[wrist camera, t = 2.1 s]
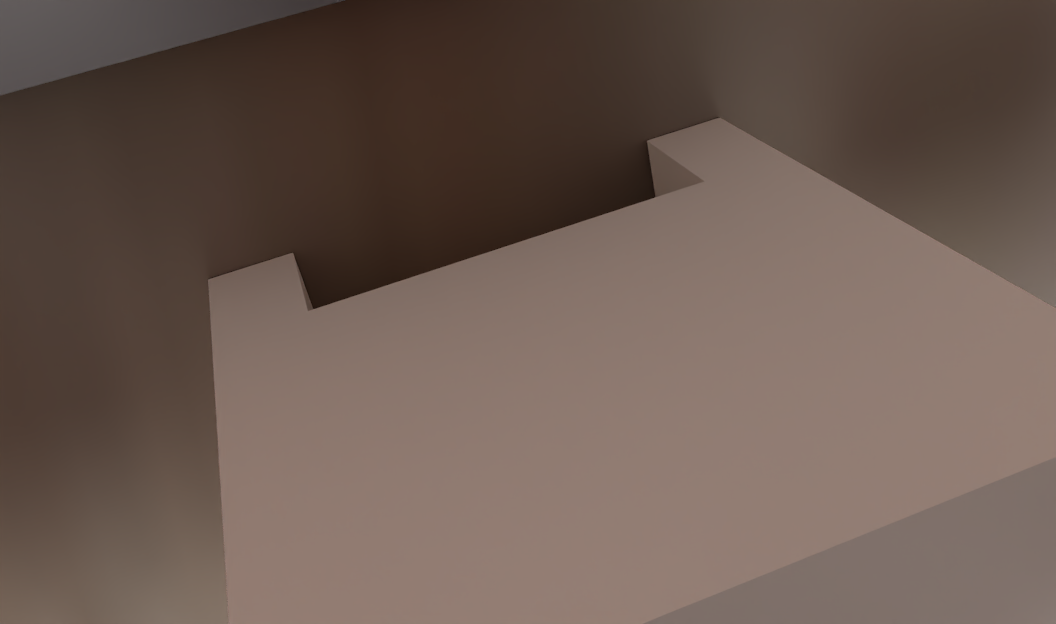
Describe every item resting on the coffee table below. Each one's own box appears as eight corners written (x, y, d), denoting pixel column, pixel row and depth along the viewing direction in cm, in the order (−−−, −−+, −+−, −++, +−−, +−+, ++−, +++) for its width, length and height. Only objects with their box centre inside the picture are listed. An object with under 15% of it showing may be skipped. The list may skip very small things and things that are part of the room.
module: (719, 117, 13) (1207, 394, 7) (752, 405, 15) (1140, 807, 9) (207, 279, 12) (239, 786, 6) (325, 563, 14) (438, 1144, 8)
